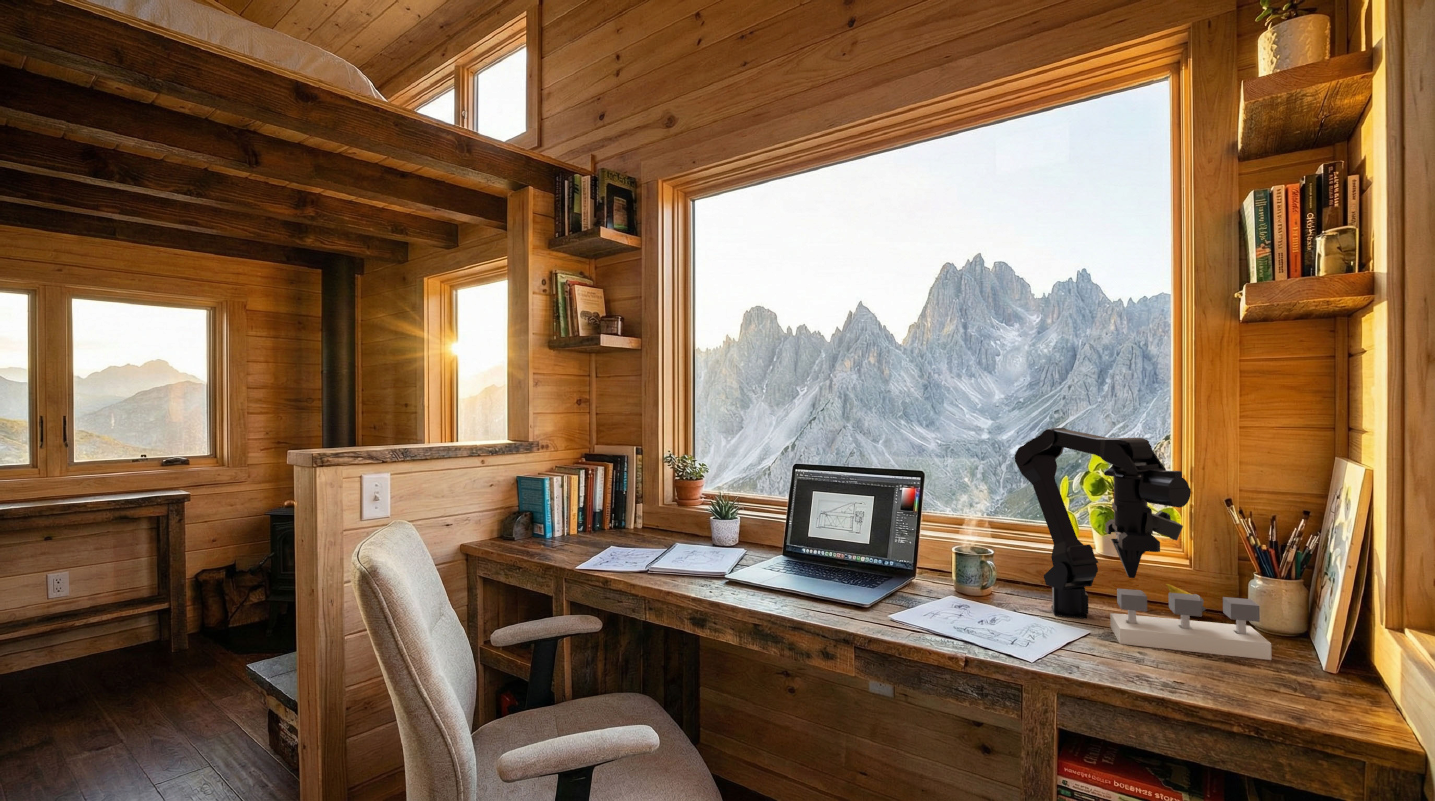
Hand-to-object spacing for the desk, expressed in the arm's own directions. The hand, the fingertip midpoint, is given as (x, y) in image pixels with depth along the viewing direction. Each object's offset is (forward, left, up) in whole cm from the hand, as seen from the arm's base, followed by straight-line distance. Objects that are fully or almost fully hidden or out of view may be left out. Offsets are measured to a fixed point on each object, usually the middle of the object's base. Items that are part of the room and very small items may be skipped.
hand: (1131, 577), depth 133 cm
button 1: (0, 0, -10) cm, 10 cm away
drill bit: (+14, +19, -12) cm, 27 cm away
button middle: (+9, 0, -10) cm, 13 cm away
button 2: (+18, 0, -10) cm, 20 cm away
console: (+9, 0, -12) cm, 15 cm away
